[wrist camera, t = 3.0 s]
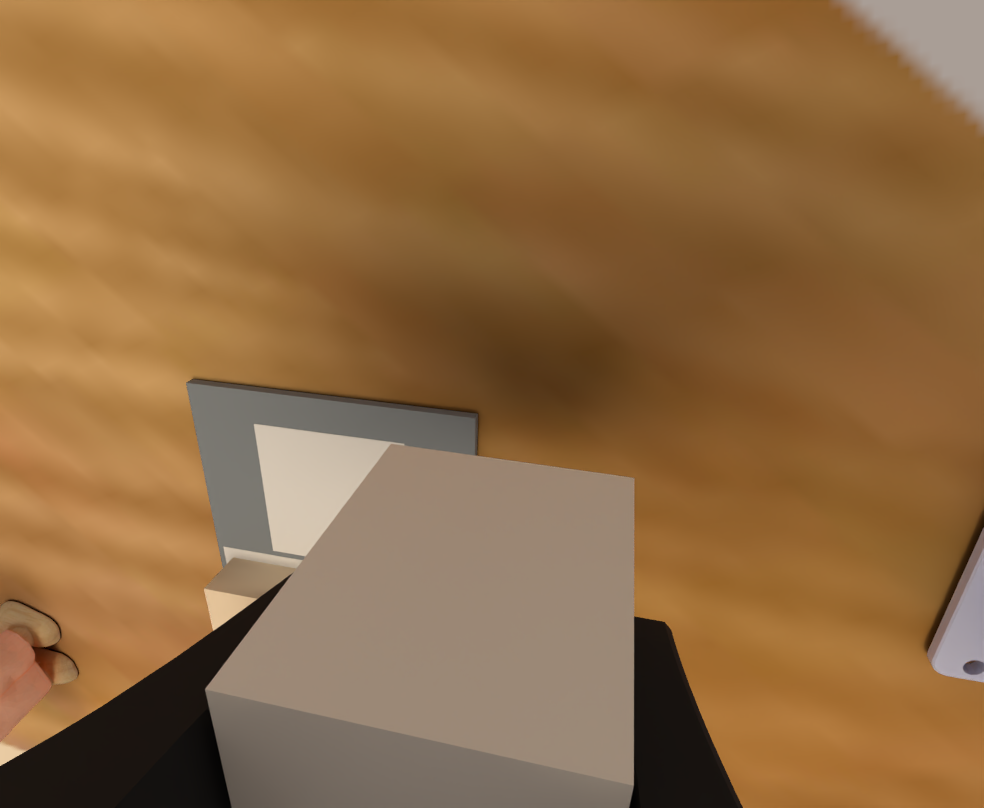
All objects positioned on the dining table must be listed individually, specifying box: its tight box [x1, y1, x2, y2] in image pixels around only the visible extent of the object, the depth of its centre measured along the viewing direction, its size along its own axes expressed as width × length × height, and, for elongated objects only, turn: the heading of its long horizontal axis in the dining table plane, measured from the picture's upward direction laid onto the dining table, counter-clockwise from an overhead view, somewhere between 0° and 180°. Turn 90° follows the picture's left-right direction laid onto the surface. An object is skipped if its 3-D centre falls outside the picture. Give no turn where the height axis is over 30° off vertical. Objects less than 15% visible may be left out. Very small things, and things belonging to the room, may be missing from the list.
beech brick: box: [204, 557, 296, 631], centre depth 21 cm, size 8×5×2 cm, turn 89°
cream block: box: [205, 444, 634, 808], centre depth 9 cm, size 4×4×5 cm
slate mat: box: [186, 379, 478, 568], centre depth 21 cm, size 9×14×1 cm, turn 179°
